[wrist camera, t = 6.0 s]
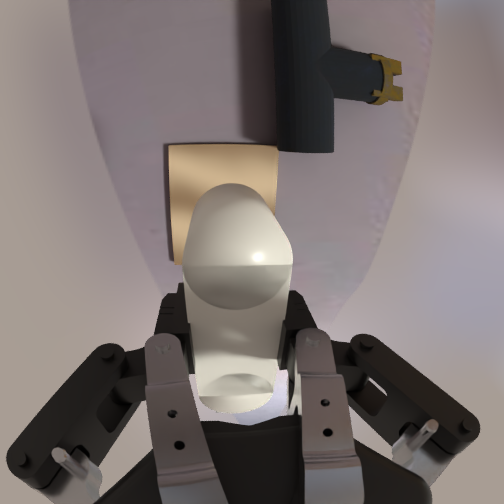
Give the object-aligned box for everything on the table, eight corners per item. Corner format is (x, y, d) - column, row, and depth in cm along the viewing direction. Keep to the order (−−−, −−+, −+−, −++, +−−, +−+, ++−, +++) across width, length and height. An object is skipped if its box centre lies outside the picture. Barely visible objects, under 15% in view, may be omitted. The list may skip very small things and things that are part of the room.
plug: (190, 183, 11) (178, 212, 8) (272, 183, 12) (298, 212, 8) (204, 382, 17) (205, 432, 13) (256, 380, 17) (265, 429, 14)
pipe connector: (398, 12, 15) (405, 158, 21) (372, 24, 20) (377, 151, 26) (276, -14, 14) (284, 153, 20) (267, 8, 19) (272, 147, 25)
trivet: (169, 145, 23) (168, 145, 23) (277, 145, 25) (279, 146, 24) (175, 262, 29) (174, 264, 28) (269, 260, 30) (270, 263, 29)
